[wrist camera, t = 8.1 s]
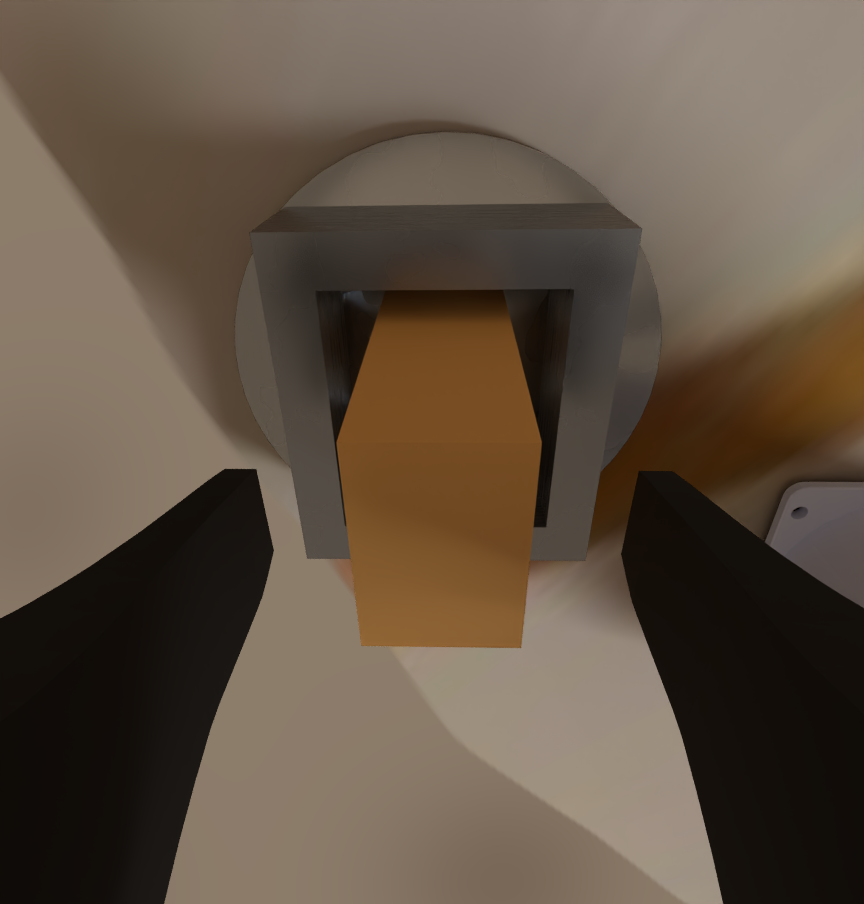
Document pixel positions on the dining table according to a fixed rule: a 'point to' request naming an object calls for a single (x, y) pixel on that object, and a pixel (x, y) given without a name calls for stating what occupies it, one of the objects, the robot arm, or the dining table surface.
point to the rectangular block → (440, 473)
